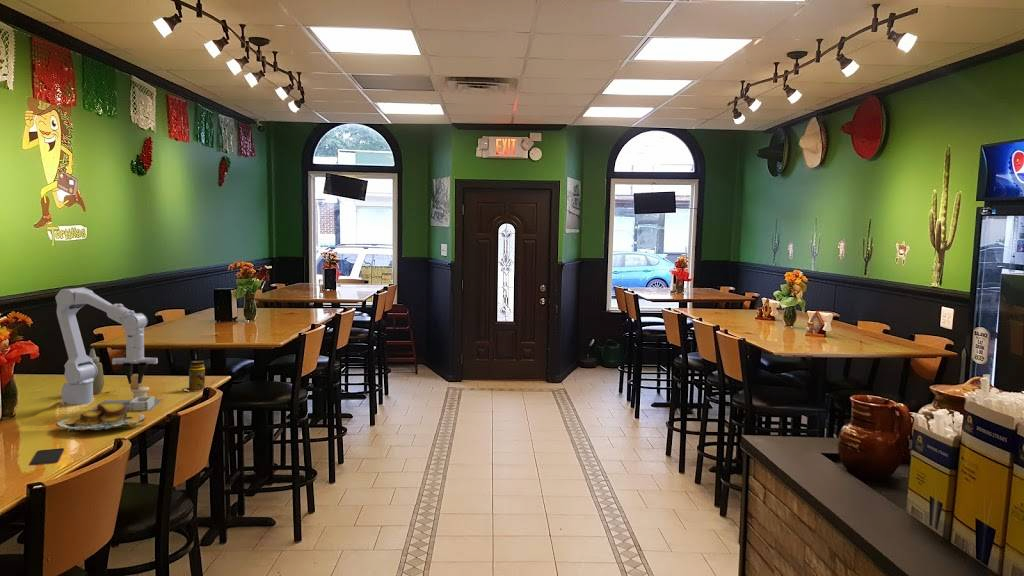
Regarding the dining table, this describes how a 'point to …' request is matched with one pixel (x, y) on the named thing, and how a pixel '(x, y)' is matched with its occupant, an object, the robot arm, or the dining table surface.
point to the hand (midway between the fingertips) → (135, 383)
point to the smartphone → (47, 456)
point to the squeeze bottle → (99, 379)
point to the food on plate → (101, 418)
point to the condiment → (196, 376)
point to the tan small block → (135, 382)
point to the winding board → (137, 401)
